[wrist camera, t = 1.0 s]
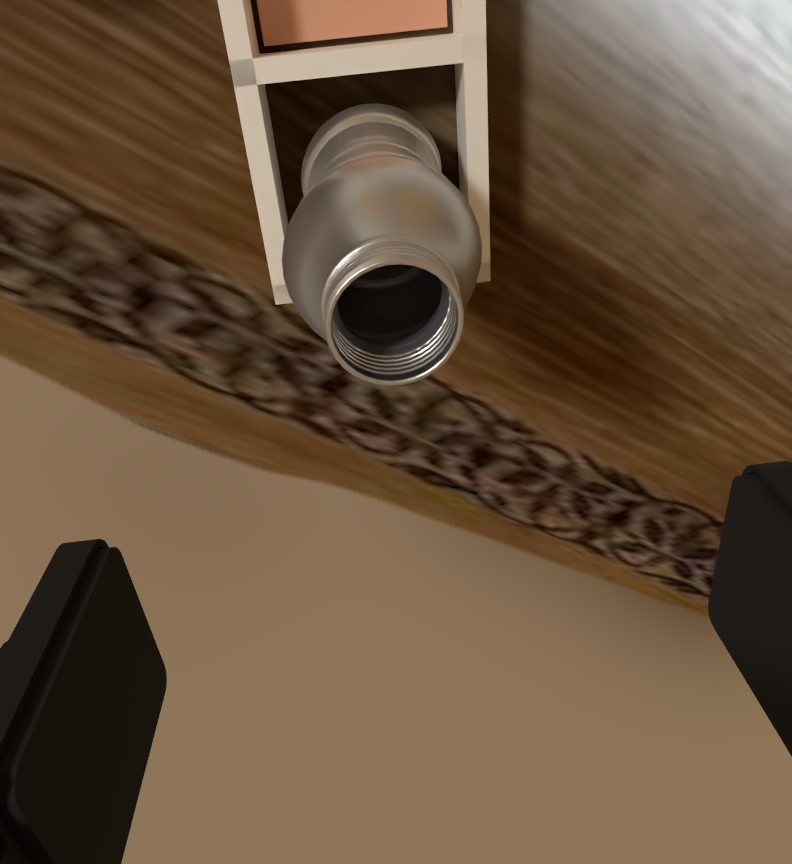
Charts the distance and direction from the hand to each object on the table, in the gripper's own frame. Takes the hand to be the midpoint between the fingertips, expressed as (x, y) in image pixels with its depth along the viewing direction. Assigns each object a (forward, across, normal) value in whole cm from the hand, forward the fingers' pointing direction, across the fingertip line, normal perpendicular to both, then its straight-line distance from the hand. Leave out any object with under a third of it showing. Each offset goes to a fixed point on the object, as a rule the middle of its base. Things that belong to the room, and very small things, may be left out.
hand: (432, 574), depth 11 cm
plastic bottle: (+29, 0, -1) cm, 29 cm away
